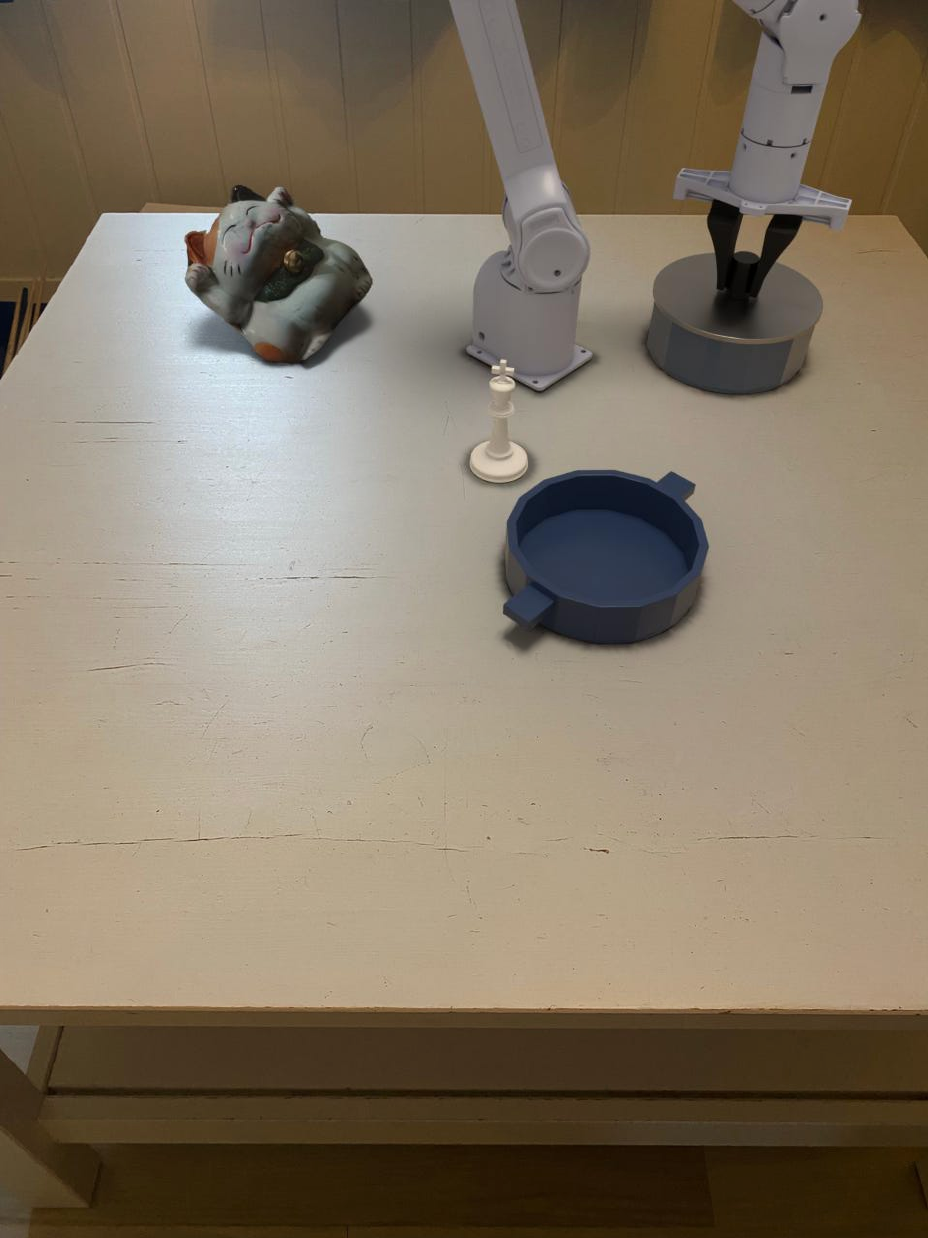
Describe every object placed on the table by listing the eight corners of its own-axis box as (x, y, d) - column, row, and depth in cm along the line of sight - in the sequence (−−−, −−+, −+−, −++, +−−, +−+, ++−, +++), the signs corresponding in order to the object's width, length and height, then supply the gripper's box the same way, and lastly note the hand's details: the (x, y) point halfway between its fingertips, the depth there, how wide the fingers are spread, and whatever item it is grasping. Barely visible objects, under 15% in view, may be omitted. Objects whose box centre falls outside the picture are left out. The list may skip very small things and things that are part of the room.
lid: (630, 326, 85) (637, 278, 82) (676, 250, 94) (685, 204, 91) (802, 366, 81) (817, 318, 78) (833, 283, 90) (848, 237, 87)
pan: (440, 591, 70) (440, 553, 67) (605, 467, 79) (611, 430, 76) (594, 700, 63) (600, 663, 60) (753, 551, 73) (766, 513, 70)
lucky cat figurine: (286, 383, 87) (189, 249, 78) (235, 373, 96) (143, 252, 88) (398, 283, 90) (316, 145, 82) (338, 282, 100) (259, 158, 91)
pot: (617, 350, 91) (624, 299, 87) (702, 293, 98) (713, 244, 94) (747, 413, 84) (761, 361, 80) (828, 348, 92) (846, 297, 88)
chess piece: (522, 486, 78) (530, 383, 70) (464, 478, 78) (465, 375, 71) (532, 449, 81) (539, 347, 73) (475, 442, 81) (477, 339, 74)
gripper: (675, 135, 76) (649, 291, 86) (860, 168, 72) (810, 327, 82) (698, 105, 80) (670, 256, 90) (873, 134, 76) (824, 289, 86)
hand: (738, 288), depth 87 cm, fingers closed on lid, 2 cm apart
